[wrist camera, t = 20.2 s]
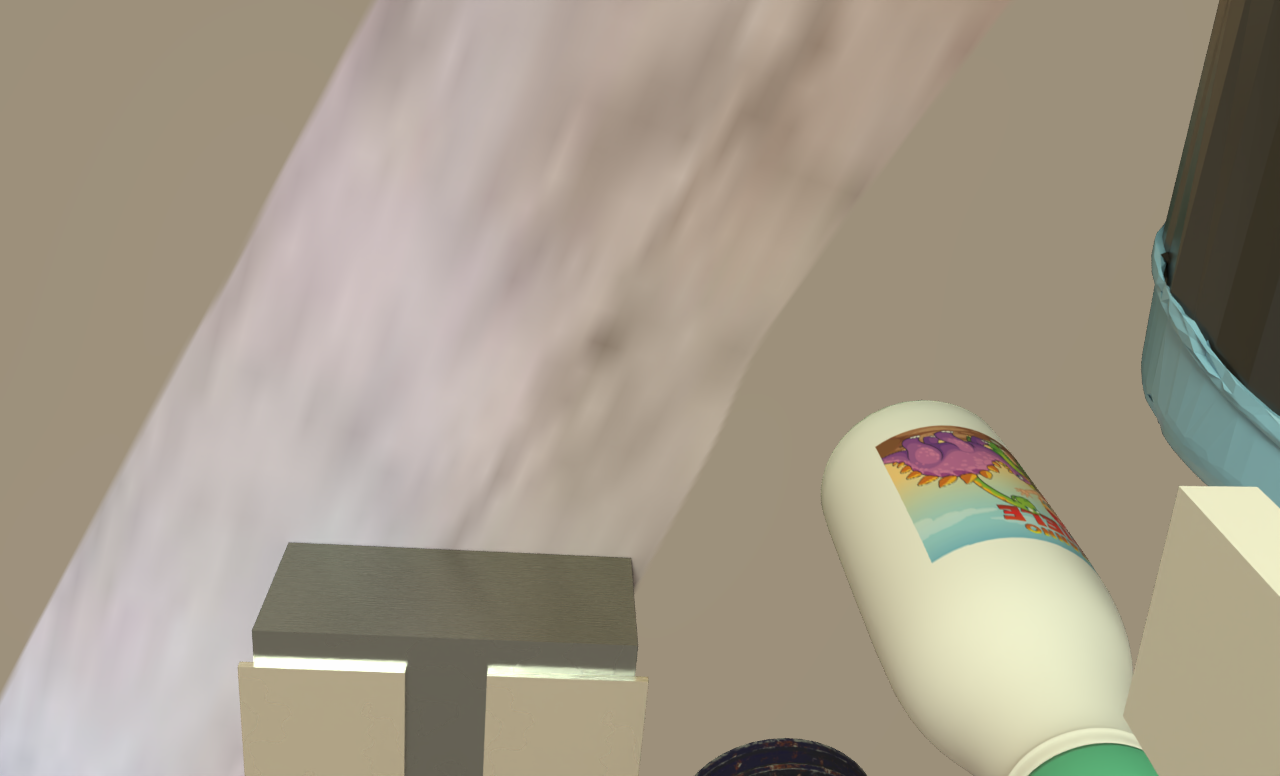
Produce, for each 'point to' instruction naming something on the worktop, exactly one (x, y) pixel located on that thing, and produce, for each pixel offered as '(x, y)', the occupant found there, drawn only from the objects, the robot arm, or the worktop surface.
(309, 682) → the drawer cabinet
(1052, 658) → the milk bottle
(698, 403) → the worktop surface
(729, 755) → the storage jar
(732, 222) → the worktop surface
